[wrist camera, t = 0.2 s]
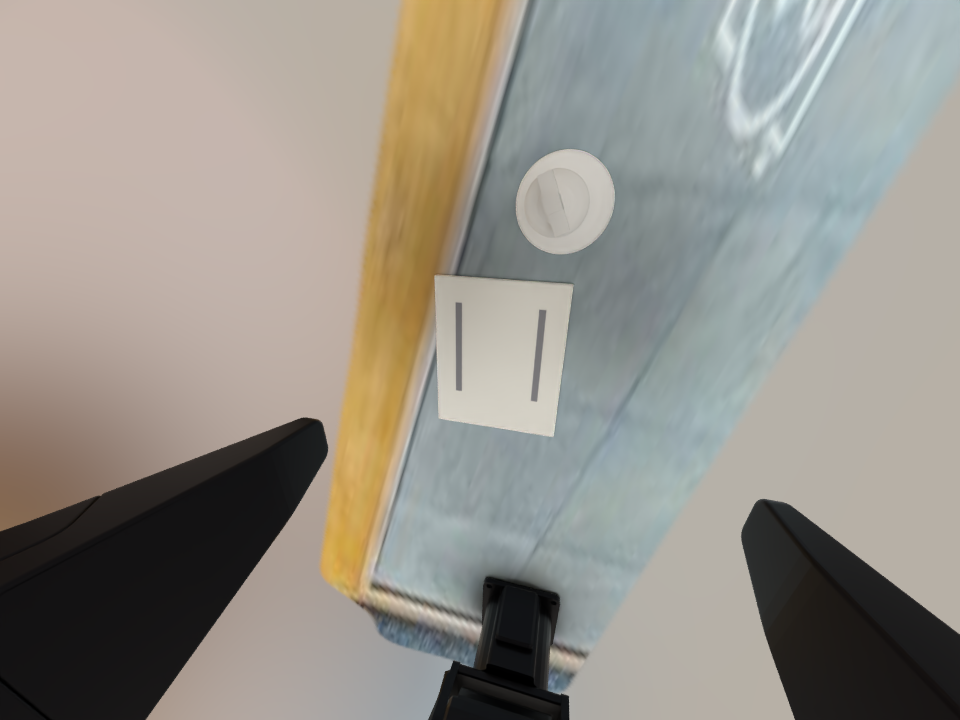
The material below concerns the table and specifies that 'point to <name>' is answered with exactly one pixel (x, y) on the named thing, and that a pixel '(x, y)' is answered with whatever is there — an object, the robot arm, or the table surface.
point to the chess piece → (565, 201)
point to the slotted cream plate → (501, 351)
